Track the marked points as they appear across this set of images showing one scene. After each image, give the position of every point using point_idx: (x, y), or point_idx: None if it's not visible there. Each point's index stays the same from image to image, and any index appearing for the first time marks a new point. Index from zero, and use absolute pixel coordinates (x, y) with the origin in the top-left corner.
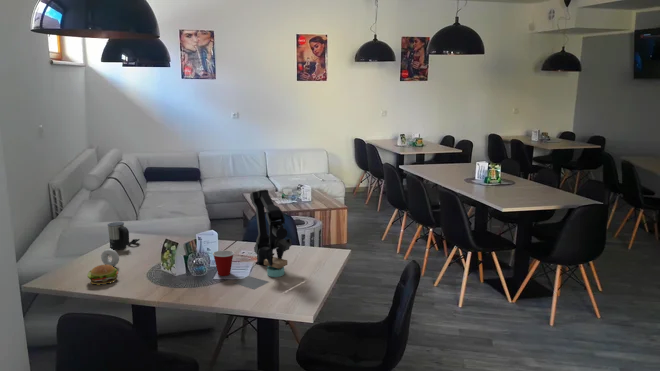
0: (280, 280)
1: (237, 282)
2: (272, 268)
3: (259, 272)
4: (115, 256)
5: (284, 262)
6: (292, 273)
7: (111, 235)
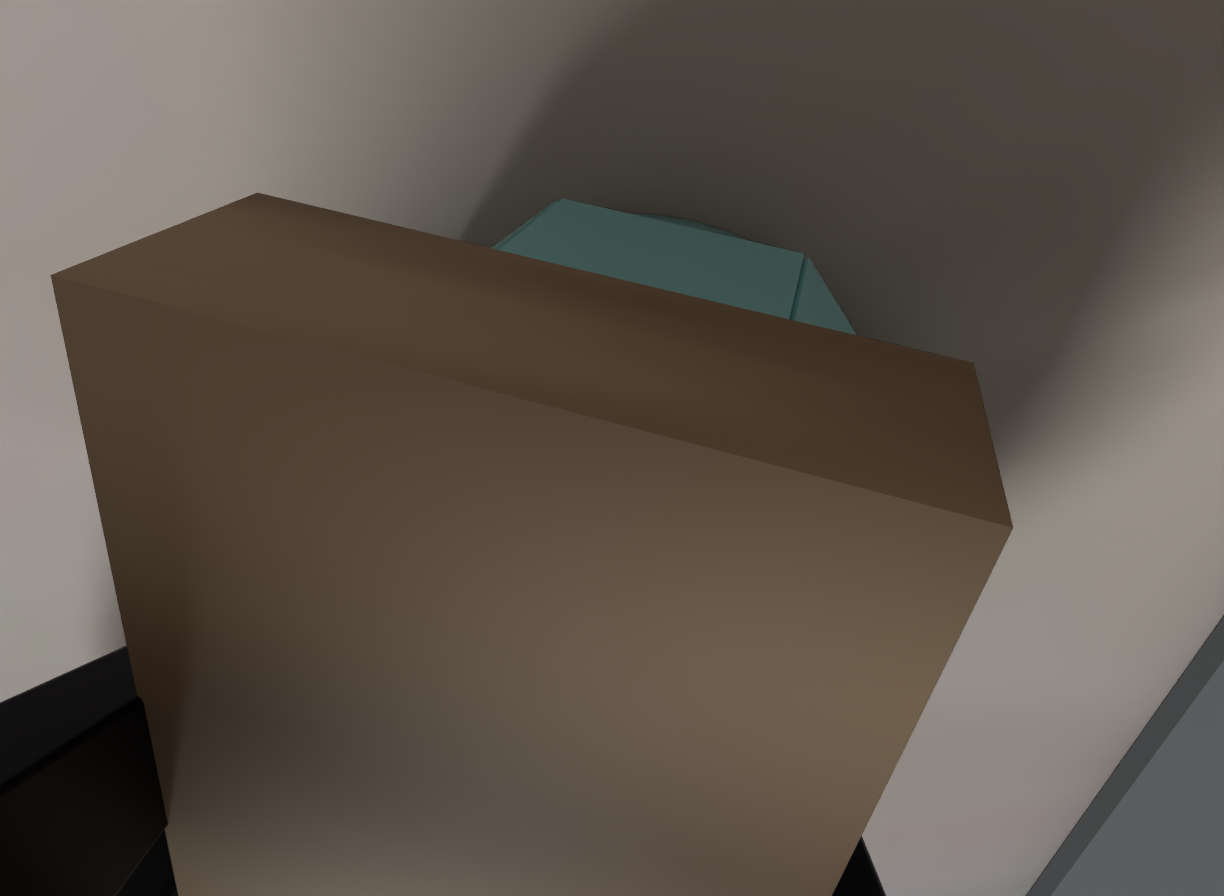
0: (1033, 109)
1: None
2: None
3: None
4: None
5: (395, 329)
6: (278, 22)
7: None
